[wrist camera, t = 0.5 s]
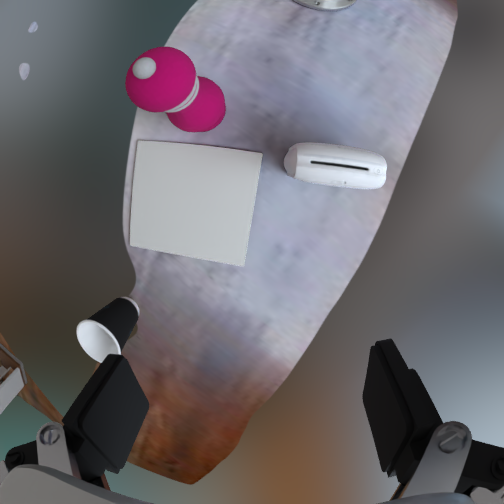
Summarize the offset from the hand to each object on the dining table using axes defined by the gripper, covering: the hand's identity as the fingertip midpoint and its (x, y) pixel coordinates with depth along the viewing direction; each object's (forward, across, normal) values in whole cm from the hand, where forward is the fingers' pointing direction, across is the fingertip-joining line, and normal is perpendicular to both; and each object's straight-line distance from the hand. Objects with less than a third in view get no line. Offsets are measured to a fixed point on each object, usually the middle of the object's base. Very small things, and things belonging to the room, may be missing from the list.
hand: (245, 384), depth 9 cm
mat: (+30, +10, -3) cm, 32 cm away
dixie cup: (+30, +25, +13) cm, 41 cm away
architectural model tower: (+29, +84, +34) cm, 95 cm away
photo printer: (+31, -8, -6) cm, 32 cm away
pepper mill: (+31, +6, -16) cm, 35 cm away
